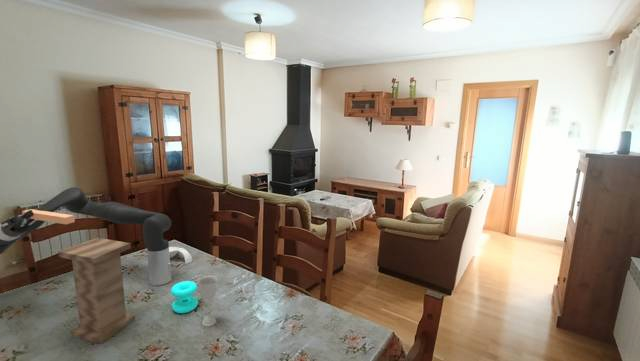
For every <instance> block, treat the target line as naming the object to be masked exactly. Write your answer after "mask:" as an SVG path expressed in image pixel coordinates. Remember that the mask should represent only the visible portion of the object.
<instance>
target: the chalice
mask: <svg viewBox="0 0 640 361" xmlns="http://www.w3.org/2000/svg"><path fill="white" fill-rule="evenodd" d="M217 281H218V277H217V276H215V275H210V274H209V275H203V276H201V277H199V278H198V279H197V283H198V285H199V286H198V289H199V294H200V296H201V298H202V301H203V302H204V303H205V304H206V308H207V310H206V313H207V315H205V316H204V318H203V320H202V325H203V326H205V327H211V326H214V325H215V324H216V323H217V320H216V317H215V316H214V315H213V314H211V312H212V310H211V306H212V305H211V303H212V302H213V300H214V298H215V296H216V294H217Z"/></svg>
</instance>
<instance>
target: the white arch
mask: <svg viewBox="0 0 640 361" xmlns="http://www.w3.org/2000/svg"><path fill="white" fill-rule="evenodd" d="M178 253H180V254H182V256H183V258H184V264H185V265H188V264H190V263H192V262H193V257H192V256H191V254H190V253H189V252H188V250H187V249H186V248H184V247H176V246H169V257H170V259H173V257H175V256H177V254H178Z"/></svg>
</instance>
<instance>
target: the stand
mask: <svg viewBox="0 0 640 361" xmlns="http://www.w3.org/2000/svg"><path fill="white" fill-rule="evenodd" d="M131 248H132V247H131V242H127V241H126V242H124V241H119V240H114V239H107V238H102V237H96V238H94V239H91V240H87V241H85V242H84V241H83V242H82V243H78V244H77V245H73V246H70V247H67V248H65V249H62V250H59V251H58V252H57V253H58V254H57V255H58V258H61V259H67V260H71V262H72V264H71V265H72V272H73V278H74V279H73V280H74V285H75V286H74V287H75V296H76V303H77V309H78V310H77V312H78V319H79V320H78V321H79V325H77V326H76V327H74V328H72V329H71V330H70V335H71V336H72V337H76V338H79V339H83V340H86V341H90V342H93V343H97V344H100V345H101V344H103V343H105V342H106V341H107V340H108V339H111V338H112V337H113V336H115V335H116V334H117V333H119V332H120V331H121V330H123V329H125V328H126V327H127V326H129V325H131V324H132V323H133V322H135V321H136V316H135V315H134V314H131V313H127V312H126V303H125V300H126V299H125V290H124V280H123V270H122V269H123V268H122V259H121V253H124V252H126V251H128V250H131Z"/></svg>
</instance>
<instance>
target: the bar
mask: <svg viewBox="0 0 640 361" xmlns="http://www.w3.org/2000/svg"><path fill="white" fill-rule="evenodd" d="M29 210H32V211H33V214H34V215H33V216H32V217H30V218H29V219H35V220H42V221H45V222H48V223H54V224H55V223H56V224H60V225H61V224H62V225H69V224H73V223H75V221H76V220H75V215H73V214H66V213H60V212H55V211H54V212H47V211H40V210H37V209H32V208H30V209H25V210H22V211H21V213H22V214H25V213H26V212H27V211H29Z"/></svg>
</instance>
